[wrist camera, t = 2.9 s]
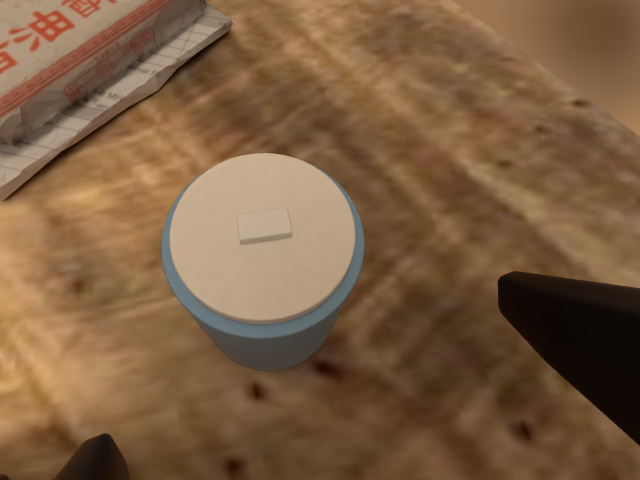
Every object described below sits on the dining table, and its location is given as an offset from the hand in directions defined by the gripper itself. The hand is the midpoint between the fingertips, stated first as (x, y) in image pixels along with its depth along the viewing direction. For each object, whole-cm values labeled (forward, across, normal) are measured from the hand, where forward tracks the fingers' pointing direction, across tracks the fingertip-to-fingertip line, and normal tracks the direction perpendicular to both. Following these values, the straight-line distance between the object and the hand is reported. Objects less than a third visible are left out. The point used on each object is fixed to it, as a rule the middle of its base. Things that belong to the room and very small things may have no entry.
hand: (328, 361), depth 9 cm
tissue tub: (+11, 0, +5) cm, 12 cm away
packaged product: (+25, +6, -8) cm, 27 cm away
